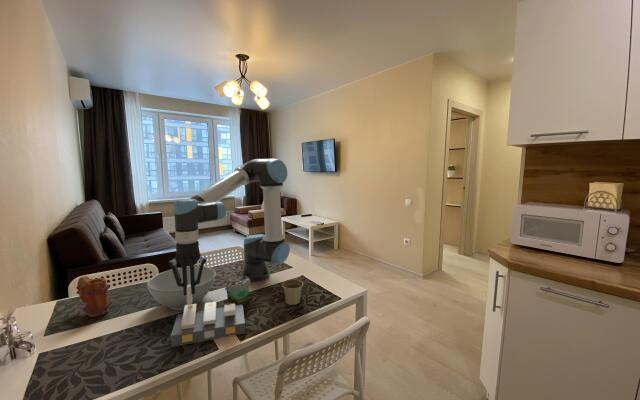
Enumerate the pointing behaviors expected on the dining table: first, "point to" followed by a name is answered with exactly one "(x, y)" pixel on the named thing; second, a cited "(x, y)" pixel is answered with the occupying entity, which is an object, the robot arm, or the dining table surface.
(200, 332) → the switch unit
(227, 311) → the block
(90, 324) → the dining table surface
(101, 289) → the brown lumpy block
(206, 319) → the rocker
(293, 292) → the flower pot
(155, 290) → the decorative bowl
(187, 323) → the block
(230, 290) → the food container
